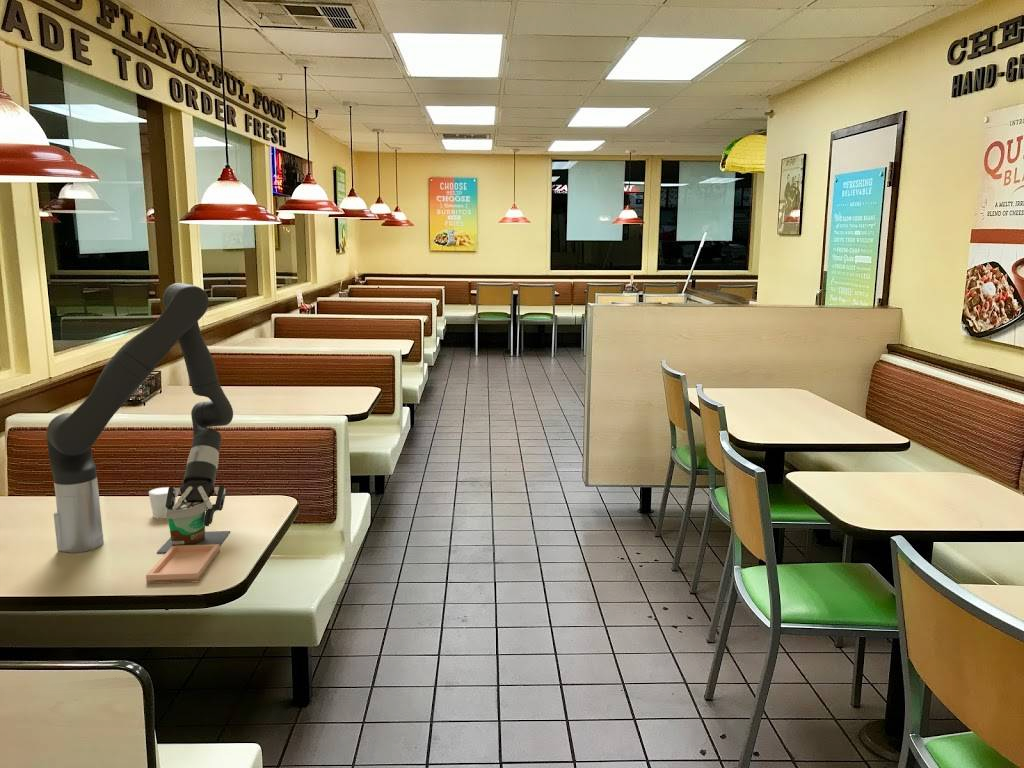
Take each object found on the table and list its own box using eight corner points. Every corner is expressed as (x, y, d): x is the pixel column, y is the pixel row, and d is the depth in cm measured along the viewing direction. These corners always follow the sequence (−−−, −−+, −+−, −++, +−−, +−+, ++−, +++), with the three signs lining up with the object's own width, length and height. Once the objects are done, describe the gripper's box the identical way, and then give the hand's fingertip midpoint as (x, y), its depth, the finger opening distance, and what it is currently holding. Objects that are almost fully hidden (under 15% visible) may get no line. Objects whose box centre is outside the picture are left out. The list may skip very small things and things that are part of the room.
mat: (156, 553, 186) (156, 552, 186) (175, 533, 199) (174, 532, 199) (216, 551, 188) (216, 550, 188) (230, 531, 200) (230, 530, 200)
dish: (146, 583, 170) (145, 575, 169) (173, 553, 186) (172, 545, 186) (198, 581, 170) (197, 573, 170) (219, 551, 187) (219, 544, 187)
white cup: (171, 518, 210) (168, 494, 209) (146, 518, 210) (143, 494, 209) (181, 510, 217) (180, 486, 216) (157, 510, 217) (155, 486, 216)
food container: (191, 551, 187) (188, 512, 185) (168, 549, 188) (165, 510, 186) (219, 532, 199) (217, 495, 197) (198, 530, 200) (195, 494, 198)
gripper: (169, 460, 197) (155, 519, 187) (226, 459, 198) (216, 518, 188) (177, 474, 203) (165, 532, 193) (233, 473, 204) (224, 530, 195)
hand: (190, 525), depth 191 cm, fingers closed on food container, 7 cm apart
